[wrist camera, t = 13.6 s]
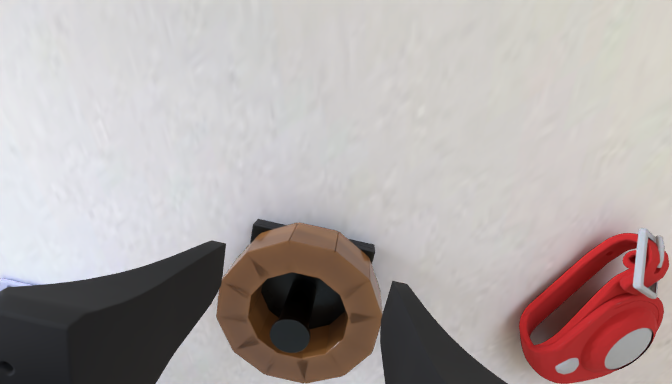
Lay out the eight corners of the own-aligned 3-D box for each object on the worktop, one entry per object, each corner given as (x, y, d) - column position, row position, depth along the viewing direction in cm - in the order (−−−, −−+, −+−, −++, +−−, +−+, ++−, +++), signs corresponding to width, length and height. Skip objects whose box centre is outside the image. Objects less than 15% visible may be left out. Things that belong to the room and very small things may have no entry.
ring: (227, 333, 26) (210, 362, 23) (242, 209, 23) (225, 226, 20) (359, 363, 26) (359, 396, 23) (394, 243, 23) (399, 264, 20)
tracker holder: (679, 358, 24) (561, 421, 23) (617, 314, 27) (516, 367, 27) (708, 235, 18) (553, 314, 17) (625, 201, 22) (497, 265, 21)
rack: (244, 315, 27) (212, 375, 21) (258, 218, 24) (225, 257, 18) (349, 339, 27) (345, 406, 21) (374, 244, 24) (378, 291, 18)
